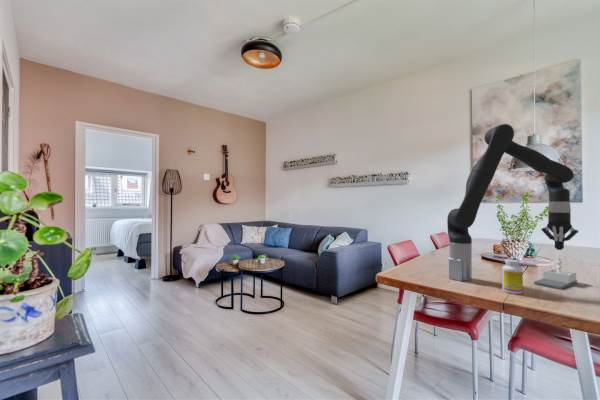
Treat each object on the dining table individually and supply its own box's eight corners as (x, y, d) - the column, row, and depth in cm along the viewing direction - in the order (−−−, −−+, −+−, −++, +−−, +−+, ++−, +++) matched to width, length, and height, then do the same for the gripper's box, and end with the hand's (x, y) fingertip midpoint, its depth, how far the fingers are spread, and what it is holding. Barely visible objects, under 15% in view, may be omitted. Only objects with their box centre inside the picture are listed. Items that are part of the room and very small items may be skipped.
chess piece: (549, 278, 132) (549, 256, 132) (558, 277, 133) (558, 256, 133) (559, 280, 127) (559, 258, 127) (569, 280, 128) (569, 258, 128)
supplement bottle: (525, 295, 112) (525, 262, 112) (505, 293, 114) (505, 261, 114) (519, 290, 118) (518, 259, 118) (500, 288, 120) (499, 258, 120)
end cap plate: (560, 289, 118) (560, 278, 118) (534, 284, 126) (534, 273, 126) (576, 282, 129) (576, 272, 129) (551, 278, 137) (551, 268, 137)
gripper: (537, 211, 134) (538, 248, 134) (575, 212, 122) (576, 252, 122) (544, 210, 138) (544, 246, 138) (581, 211, 126) (581, 250, 126)
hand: (559, 249), depth 130 cm, fingers closed
